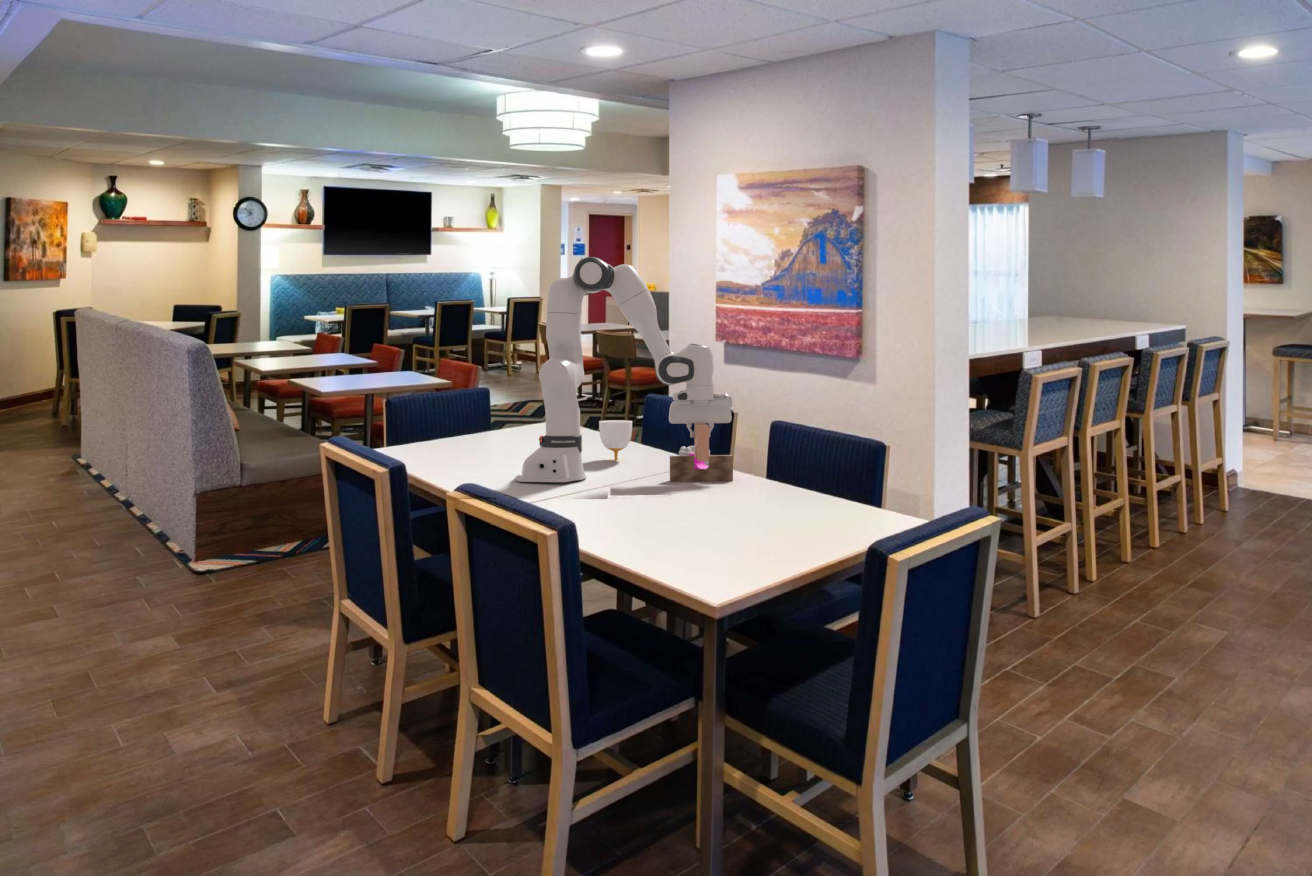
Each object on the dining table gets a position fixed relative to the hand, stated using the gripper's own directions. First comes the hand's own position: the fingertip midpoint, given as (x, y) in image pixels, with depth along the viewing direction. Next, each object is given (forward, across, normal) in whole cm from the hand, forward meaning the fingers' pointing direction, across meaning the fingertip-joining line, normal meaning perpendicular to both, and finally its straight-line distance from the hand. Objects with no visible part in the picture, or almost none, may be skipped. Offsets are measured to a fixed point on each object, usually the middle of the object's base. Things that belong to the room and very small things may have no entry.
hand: (700, 437), depth 313 cm
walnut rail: (+14, 0, +4) cm, 14 cm away
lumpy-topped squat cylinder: (+14, 0, -22) cm, 26 cm away
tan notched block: (+7, 0, +4) cm, 8 cm away
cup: (+14, +27, -29) cm, 42 cm away
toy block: (+14, -4, -5) cm, 15 cm away
